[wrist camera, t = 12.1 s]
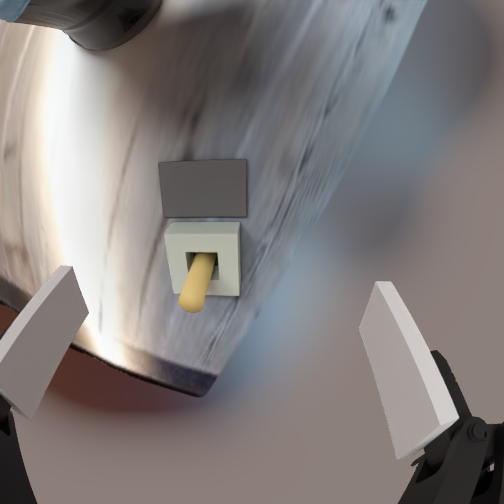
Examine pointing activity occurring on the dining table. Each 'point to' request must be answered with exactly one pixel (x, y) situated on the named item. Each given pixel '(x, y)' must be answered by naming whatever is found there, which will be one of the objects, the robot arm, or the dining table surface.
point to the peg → (197, 282)
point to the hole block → (205, 240)
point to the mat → (203, 188)
